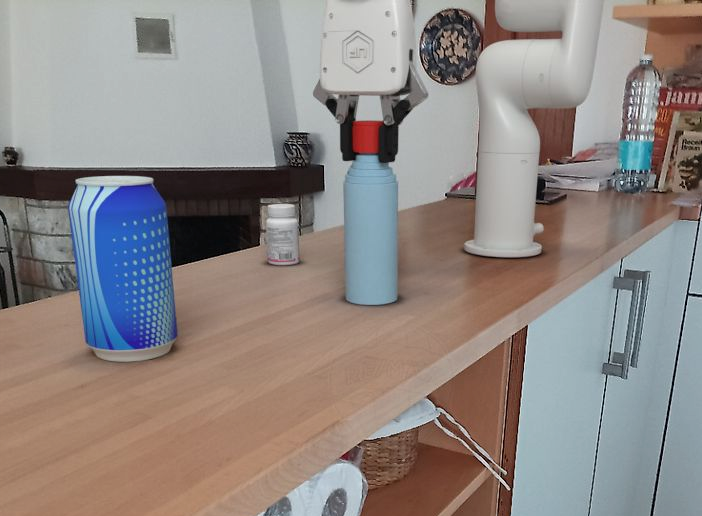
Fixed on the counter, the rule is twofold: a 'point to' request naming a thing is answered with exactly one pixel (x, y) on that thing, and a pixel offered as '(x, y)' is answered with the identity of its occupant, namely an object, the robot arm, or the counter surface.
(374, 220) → the water bottle
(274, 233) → the pill bottle
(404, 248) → the counter surface
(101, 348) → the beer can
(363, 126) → the cap
